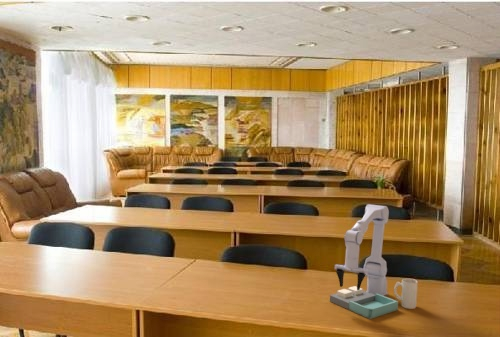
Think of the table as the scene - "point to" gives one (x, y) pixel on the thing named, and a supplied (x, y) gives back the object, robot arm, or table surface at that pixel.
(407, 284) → the mug
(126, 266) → the table surface
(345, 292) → the tile
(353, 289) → the tile
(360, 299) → the grey flat slab
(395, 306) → the tray
